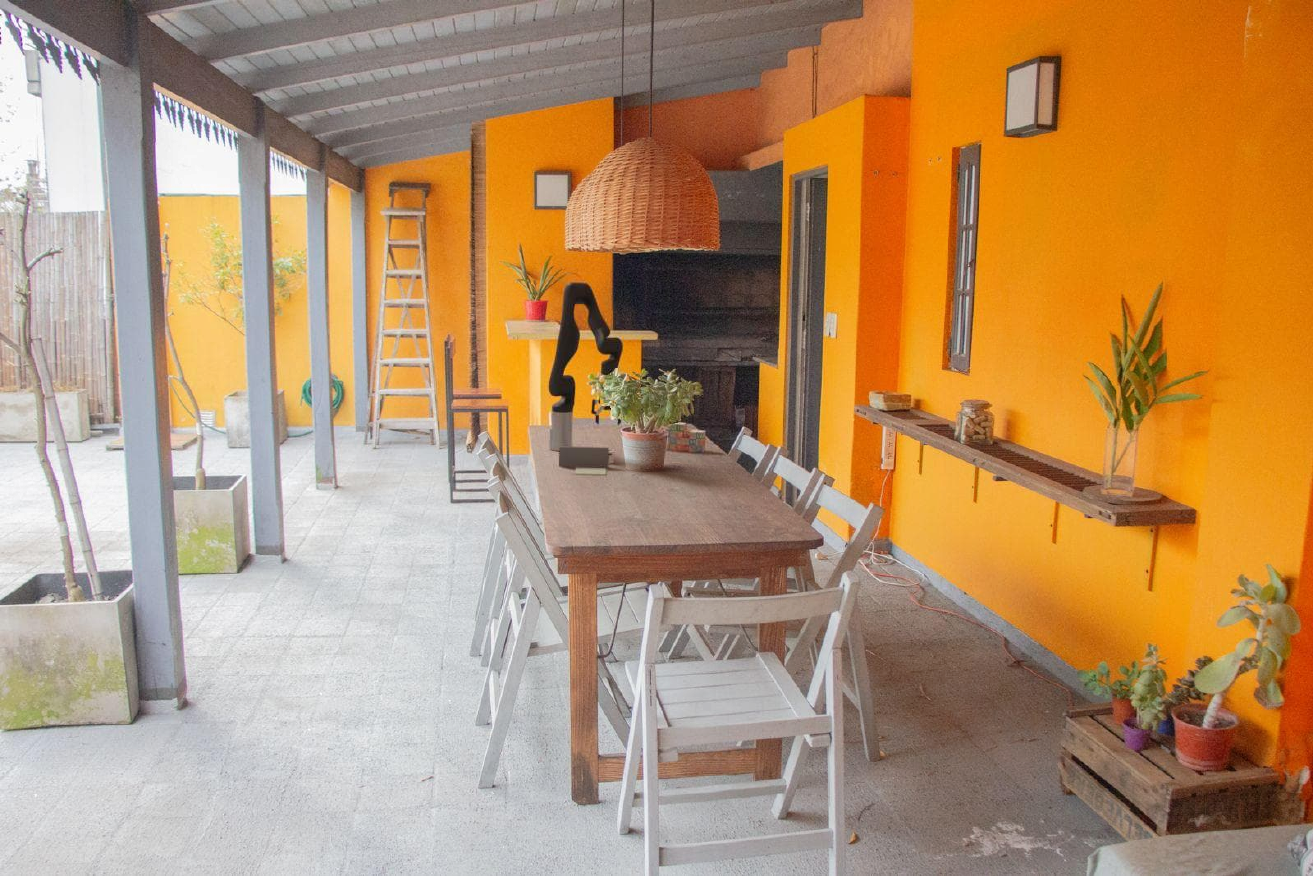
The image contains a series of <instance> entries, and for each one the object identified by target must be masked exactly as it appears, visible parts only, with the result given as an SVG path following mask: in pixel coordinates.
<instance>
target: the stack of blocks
mask: <svg viewBox="0 0 1313 876" xmlns="http://www.w3.org/2000/svg"><path fill="white" fill-rule="evenodd" d="M677 422H678V421H677ZM706 432H707V431H706V430H701V429H700V430H699V429H687V422H680V421H679V422H678V423H675V424H673V425H671V426H668V428H667V433H668V444H667V450H668V451H677V452H691V453H704V452H705V451H706V435H707V434H706ZM667 450H666V451H667Z"/></svg>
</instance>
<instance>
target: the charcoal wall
mask: <svg viewBox="0 0 1313 876" xmlns="http://www.w3.org/2000/svg"><path fill="white" fill-rule="evenodd" d="M608 450H609V447H608V446H607V447H606V446H603V447H602V446H572V447H569V446H559V451H558V467H565V468H566V467H568V468H576V467H577V468H607V467H608V468H609V464H608Z"/></svg>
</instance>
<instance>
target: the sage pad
mask: <svg viewBox="0 0 1313 876" xmlns="http://www.w3.org/2000/svg"><path fill="white" fill-rule="evenodd" d="M606 468H607V467H575V472H574V475H577V476H578V475H579V476H582V475H583V476H606V475H607V470H606Z"/></svg>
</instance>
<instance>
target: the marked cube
mask: <svg viewBox="0 0 1313 876" xmlns="http://www.w3.org/2000/svg"><path fill="white" fill-rule="evenodd" d="M614 456H615V450H614V449H608V463H614V462H615V461H614V460H615V459H614V458H615V457H614Z"/></svg>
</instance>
